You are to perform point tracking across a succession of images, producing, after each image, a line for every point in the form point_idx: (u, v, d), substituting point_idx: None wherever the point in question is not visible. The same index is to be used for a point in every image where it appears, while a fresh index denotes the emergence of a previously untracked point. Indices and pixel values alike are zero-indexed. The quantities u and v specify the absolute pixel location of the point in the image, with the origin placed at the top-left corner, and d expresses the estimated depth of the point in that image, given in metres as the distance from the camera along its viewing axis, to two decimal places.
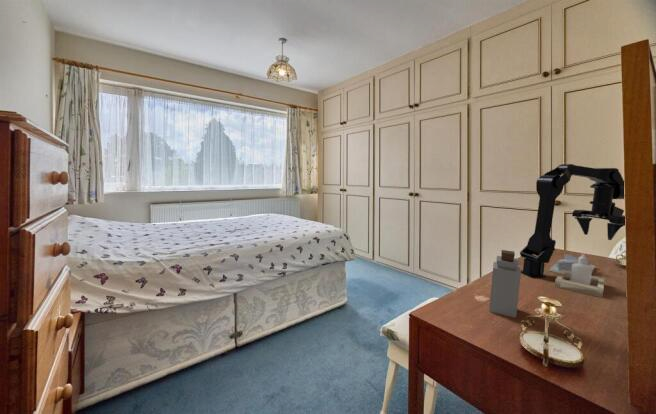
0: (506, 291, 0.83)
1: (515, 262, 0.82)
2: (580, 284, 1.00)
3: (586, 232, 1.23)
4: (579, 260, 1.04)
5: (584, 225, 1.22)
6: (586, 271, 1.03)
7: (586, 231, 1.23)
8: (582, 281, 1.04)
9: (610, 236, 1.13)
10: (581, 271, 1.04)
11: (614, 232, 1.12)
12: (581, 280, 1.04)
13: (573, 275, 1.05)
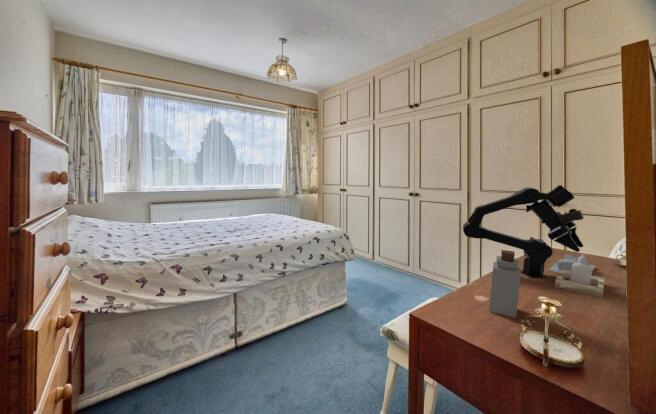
0: (506, 291, 0.83)
1: (515, 262, 0.82)
2: (580, 284, 1.00)
3: (579, 244, 1.08)
4: (579, 260, 1.04)
5: None
6: (586, 271, 1.03)
7: (578, 244, 1.09)
8: (582, 281, 1.04)
9: (572, 248, 1.02)
10: (581, 271, 1.04)
11: (571, 243, 1.02)
12: (581, 280, 1.04)
13: (573, 275, 1.05)
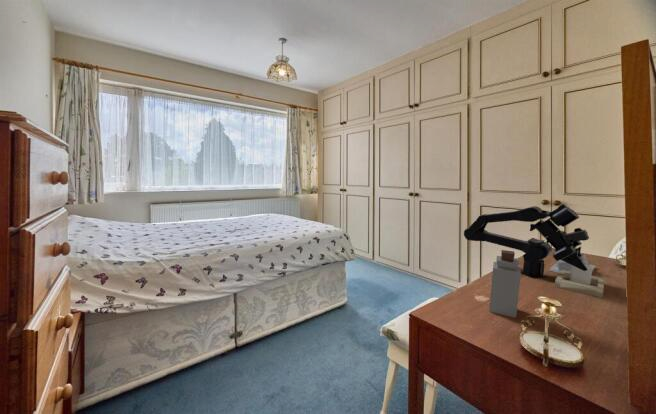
0: (506, 291, 0.83)
1: (515, 262, 0.82)
2: (580, 284, 1.00)
3: None
4: None
5: None
6: (586, 271, 1.03)
7: None
8: (582, 281, 1.04)
9: (580, 268, 1.03)
10: (581, 271, 1.04)
11: (578, 263, 1.03)
12: (581, 280, 1.04)
13: (573, 275, 1.05)
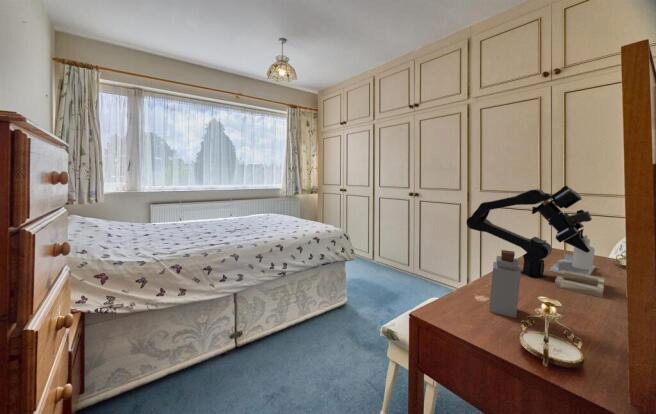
0: (506, 291, 0.83)
1: (515, 262, 0.82)
2: (580, 284, 1.00)
3: None
4: None
5: None
6: (588, 252, 1.02)
7: None
8: (584, 263, 1.03)
9: (582, 249, 1.02)
10: (583, 253, 1.03)
11: (581, 244, 1.02)
12: (584, 261, 1.03)
13: (575, 257, 1.05)
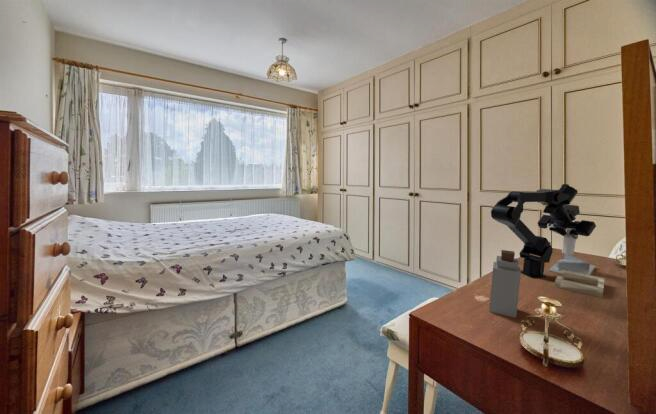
0: (506, 291, 0.83)
1: (515, 262, 0.82)
2: (580, 284, 1.00)
3: None
4: None
5: (561, 232, 1.23)
6: (575, 239, 1.22)
7: None
8: (573, 249, 1.22)
9: (576, 237, 1.20)
10: (574, 240, 1.21)
11: None
12: (573, 248, 1.22)
13: (570, 246, 1.21)
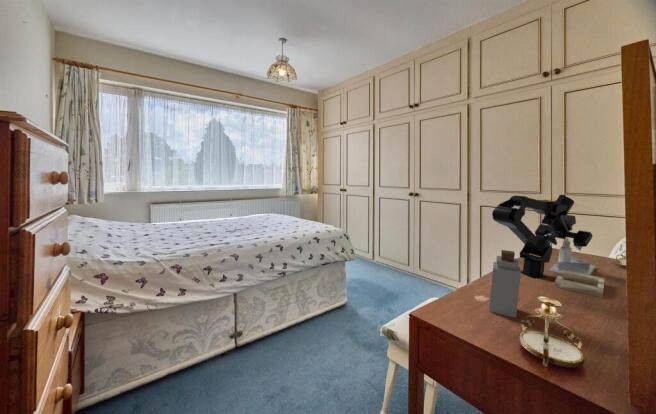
0: (506, 291, 0.83)
1: (515, 262, 0.82)
2: (580, 284, 1.00)
3: (556, 243, 1.28)
4: (567, 244, 1.23)
5: (552, 240, 1.27)
6: None
7: (555, 242, 1.28)
8: (569, 261, 1.24)
9: (580, 248, 1.19)
10: (570, 253, 1.23)
11: None
12: (569, 260, 1.23)
13: (566, 258, 1.22)
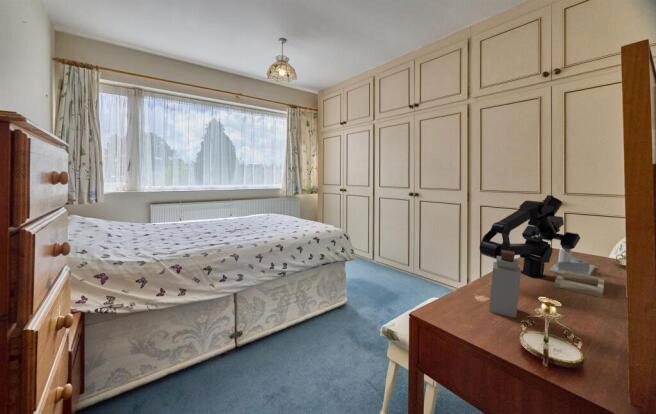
0: (506, 291, 0.83)
1: (515, 262, 0.82)
2: (580, 284, 1.00)
3: None
4: None
5: None
6: None
7: None
8: (569, 261, 1.24)
9: (568, 251, 1.15)
10: (570, 253, 1.23)
11: None
12: (569, 260, 1.23)
13: (566, 258, 1.22)
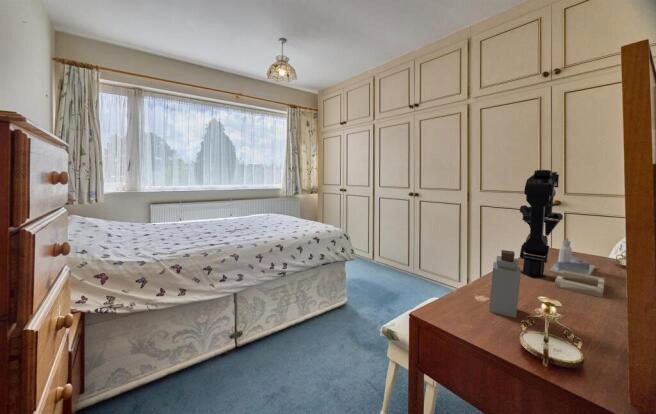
0: (506, 291, 0.83)
1: (515, 262, 0.82)
2: (580, 284, 1.00)
3: None
4: (567, 244, 1.23)
5: None
6: None
7: None
8: (569, 261, 1.24)
9: None
10: (570, 253, 1.23)
11: None
12: (569, 260, 1.23)
13: (566, 258, 1.22)
